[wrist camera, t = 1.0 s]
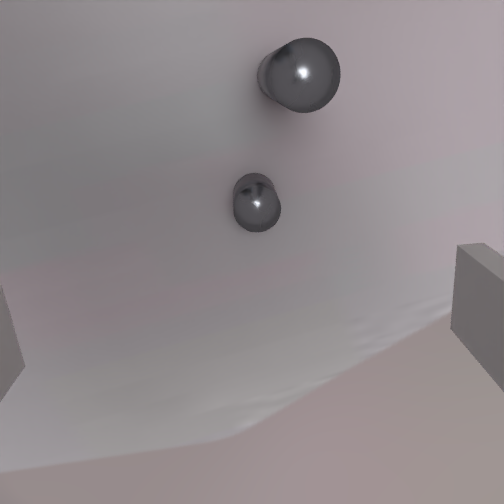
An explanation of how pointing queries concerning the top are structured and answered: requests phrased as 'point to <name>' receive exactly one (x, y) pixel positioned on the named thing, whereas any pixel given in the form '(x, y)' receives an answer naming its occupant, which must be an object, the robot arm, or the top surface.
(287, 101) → the long pin
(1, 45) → the top surface
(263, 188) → the short pin
